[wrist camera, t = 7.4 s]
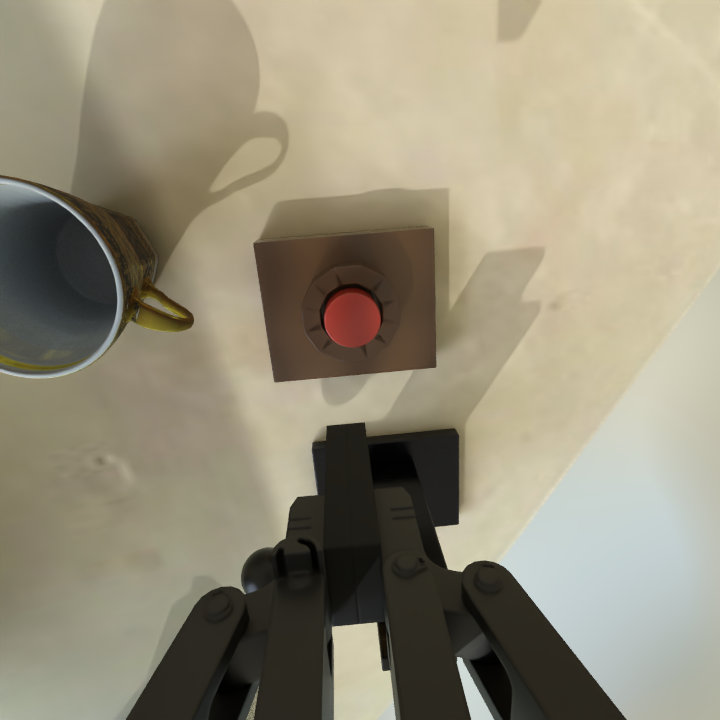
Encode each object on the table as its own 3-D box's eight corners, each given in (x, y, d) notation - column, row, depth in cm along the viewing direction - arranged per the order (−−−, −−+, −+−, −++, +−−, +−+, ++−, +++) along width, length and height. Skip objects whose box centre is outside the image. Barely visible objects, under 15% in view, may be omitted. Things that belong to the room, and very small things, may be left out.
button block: (277, 371, 35) (271, 392, 32) (257, 239, 32) (248, 245, 28) (430, 357, 36) (442, 376, 32) (427, 225, 32) (440, 230, 28)
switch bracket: (323, 529, 41) (320, 702, 27) (312, 442, 38) (302, 587, 24) (455, 515, 41) (519, 679, 27) (455, 428, 38) (528, 562, 24)
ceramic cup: (24, 301, 32) (-100, 346, 23) (41, 157, 29) (-94, 140, 20) (207, 355, 34) (162, 416, 25) (240, 226, 31) (203, 241, 22)
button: (327, 342, 31) (326, 350, 29) (321, 289, 30) (321, 295, 28) (379, 337, 31) (382, 345, 29) (376, 285, 30) (379, 290, 28)
